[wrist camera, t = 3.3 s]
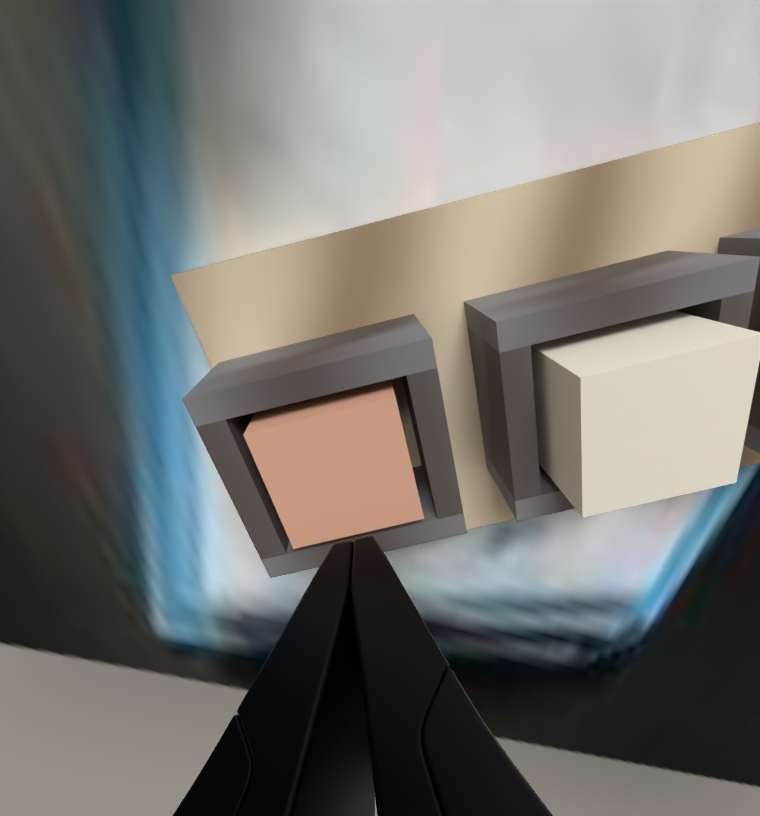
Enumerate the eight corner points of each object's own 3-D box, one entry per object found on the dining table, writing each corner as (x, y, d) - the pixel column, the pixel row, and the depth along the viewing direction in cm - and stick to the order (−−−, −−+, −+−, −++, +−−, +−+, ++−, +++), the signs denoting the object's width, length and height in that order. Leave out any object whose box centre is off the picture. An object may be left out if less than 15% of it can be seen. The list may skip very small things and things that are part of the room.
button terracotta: (386, 363, 12) (395, 398, 10) (411, 466, 14) (424, 518, 12) (264, 393, 13) (243, 434, 10) (303, 491, 14) (293, 549, 12)
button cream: (668, 309, 11) (764, 333, 8) (658, 431, 13) (736, 482, 10) (527, 343, 11) (580, 378, 9) (536, 460, 13) (582, 517, 10)
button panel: (922, 80, 12) (1200, 9, 8) (823, 426, 17) (963, 485, 13) (186, 271, 12) (113, 289, 9) (302, 547, 17) (289, 636, 14)
